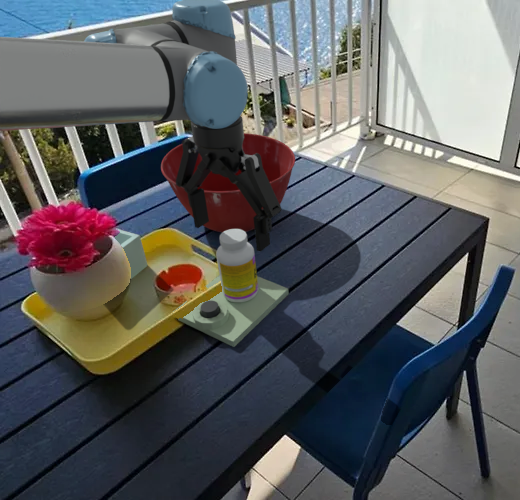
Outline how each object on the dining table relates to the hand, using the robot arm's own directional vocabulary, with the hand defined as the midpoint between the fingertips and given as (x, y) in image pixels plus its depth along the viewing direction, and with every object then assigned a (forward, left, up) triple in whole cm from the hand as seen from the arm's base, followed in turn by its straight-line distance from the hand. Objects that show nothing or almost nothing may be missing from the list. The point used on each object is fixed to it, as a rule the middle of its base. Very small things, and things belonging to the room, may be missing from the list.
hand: (231, 235), depth 86 cm
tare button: (0, -8, -12) cm, 14 cm away
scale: (0, -2, -14) cm, 15 cm away
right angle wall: (-28, -8, -15) cm, 33 cm away
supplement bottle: (0, 0, -13) cm, 13 cm away
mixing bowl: (-19, +22, -15) cm, 32 cm away
